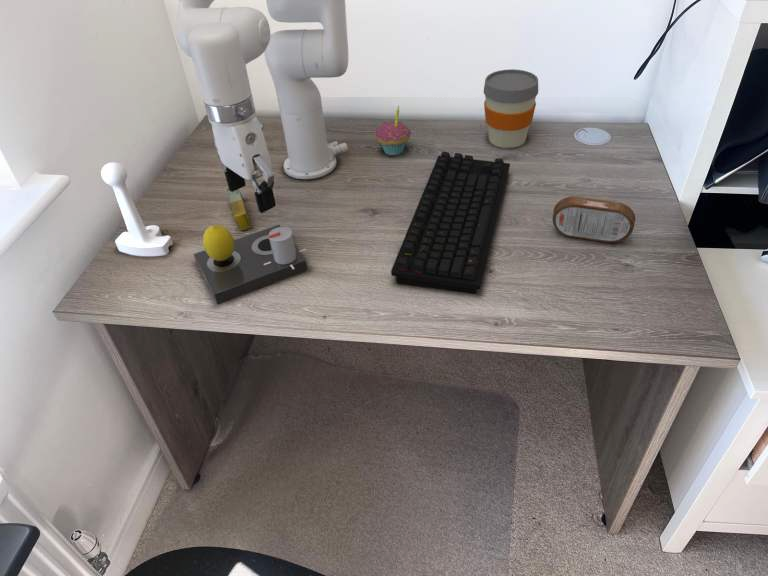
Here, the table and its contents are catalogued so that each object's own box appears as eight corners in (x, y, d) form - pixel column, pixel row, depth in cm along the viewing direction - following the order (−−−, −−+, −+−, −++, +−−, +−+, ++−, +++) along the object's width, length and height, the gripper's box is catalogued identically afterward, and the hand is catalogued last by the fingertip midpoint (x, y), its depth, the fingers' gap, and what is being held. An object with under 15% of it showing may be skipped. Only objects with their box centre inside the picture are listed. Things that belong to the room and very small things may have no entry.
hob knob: (291, 247, 120) (286, 222, 116) (300, 259, 117) (295, 234, 113) (270, 255, 119) (264, 230, 115) (278, 267, 116) (273, 242, 112)
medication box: (232, 203, 138) (225, 188, 135) (243, 199, 138) (237, 184, 136) (240, 231, 129) (233, 216, 126) (252, 227, 129) (246, 212, 127)
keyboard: (480, 297, 110) (481, 276, 106) (391, 285, 113) (389, 264, 110) (509, 174, 140) (511, 154, 136) (438, 168, 144) (438, 148, 140)
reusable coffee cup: (503, 122, 158) (507, 64, 149) (543, 137, 151) (550, 78, 141) (470, 140, 152) (472, 81, 143) (511, 157, 145) (516, 96, 135)
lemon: (231, 270, 116) (221, 236, 110) (204, 267, 117) (193, 233, 111) (242, 252, 120) (233, 218, 114) (216, 250, 121) (205, 216, 115)
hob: (287, 231, 128) (285, 221, 127) (316, 271, 118) (314, 260, 116) (196, 263, 122) (193, 253, 120) (219, 308, 112) (215, 297, 110)
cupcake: (416, 145, 152) (414, 99, 144) (402, 162, 147) (400, 115, 139) (384, 140, 155) (381, 94, 147) (370, 156, 150) (365, 110, 142)
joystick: (115, 253, 127) (76, 168, 113) (134, 231, 132) (99, 147, 119) (163, 258, 124) (130, 171, 111) (181, 236, 130) (151, 150, 116)
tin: (630, 238, 119) (639, 202, 114) (629, 248, 117) (639, 211, 112) (551, 227, 124) (556, 191, 118) (549, 236, 121) (554, 200, 116)
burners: (277, 231, 124) (277, 231, 124) (289, 248, 120) (289, 247, 120) (203, 257, 119) (202, 257, 119) (212, 275, 115) (212, 275, 115)
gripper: (280, 115, 94) (298, 208, 106) (222, 85, 105) (244, 173, 116) (238, 132, 91) (261, 227, 102) (183, 99, 101) (209, 189, 112)
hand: (252, 198), depth 109 cm, fingers open, 9 cm apart
